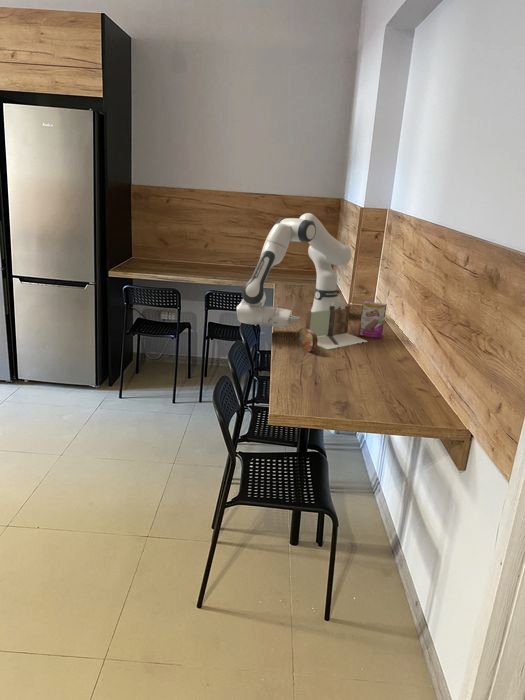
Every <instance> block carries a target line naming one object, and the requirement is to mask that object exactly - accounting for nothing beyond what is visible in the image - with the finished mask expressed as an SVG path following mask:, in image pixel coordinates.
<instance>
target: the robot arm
mask: <svg viewBox="0 0 525 700" xmlns="http://www.w3.org/2000/svg"><path fill="white" fill-rule="evenodd" d="M290 242H295V243H296V242H297V243H308V244H309V246H308V248H307V249H308V251H307V253H308V256H309V258H310V259H311V261H312V262H313V264H314V266H315V267H314V268H315V271H316V283H315V288H314V293H313V294H314V298H313V303H312V307H311V309H310V311H311V312H315V311H323V310H329V309H330V306H335V310H338V309H345V306H347V305H346V303H345V301H343V299H342V298H341V297H339V295H341V294H342V289H341V290H340V289H337V286H338V285H337V283H338V275H337V273H336V271H334V270H333V267H332V265H335V266H345V265H348V264H349V263H350V262H351V260H352V257H353V256H352V250H351V248H350V247H349V246H346V245H345V244H343V243H342V242H341V241H339V240H338V239H336V237H334V236H332V234H330V233H329V231H328V230H327V229H326V228H325V226H324V225H323V223H322V222H321V221H320V220H319V218H317V217H316V216H315V215H314V214H313V213H310V212H305V213H304V214H301V216H300V217H299V218H297V217H296V218H295V217H281V218H279V219H278V220H277V221H276V222H275V224H274V225H273V227H272V228H271V229H270V231H269V233H268V235H267V236H266V239H265V241H264V243H263V245H262V250H261V252H260V256H259V260H258V263H257V264H256V267H255V269H254V271H253V272H252V276H251V277H250V279H248V281H247V282H246V283H245V284H244V285H243V286H242V288H241V298H242V299H241V301H240V303H239V304H238V305H236V308H235V314H236V319H237V321H238V322H240V323H242V324H247V325H260V326H264V327H265V326H266V327H279V328H288V326H289V324H290V323H299V322H300V320H301V317H300V316H297V315H296V316H295V315H293V313H292V310H290V309H287V308H281V307H280V308H279V307H277V306H265V302H266V299H267V296H266V292H265V290H264V287H265V286H264V285H265V283H266V280H267V278H268V276H269V274H270V271H271V269H272V268H273V267H274V266H276V265H279V264H281V262H282V260H283V259H284V257H285V255H286V254H287V250H288V248H289V245H290Z"/></svg>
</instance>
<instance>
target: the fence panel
mask: <svg viewBox="0 0 525 700" xmlns="http://www.w3.org/2000/svg"><path fill="white" fill-rule="evenodd" d="M329 319H330V310H323V311H315V312H311V310H310V311H309V310H308V311H306V317H305V327H304V328H307V329H309V330H310V331H312V332H314V333H315V334H316V335H317V337H319V336H324V335H328V329H329Z"/></svg>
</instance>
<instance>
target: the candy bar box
mask: <svg viewBox="0 0 525 700" xmlns="http://www.w3.org/2000/svg"><path fill="white" fill-rule="evenodd" d="M387 305H388V304H387V303H382V302H381V303H380V302H374V301H367V300H363V303H362V307H361V314H360V322H359V328H358V336H359V335H361V337H366V336H368V338H373V337H374V339H382V338H383V332H384V325H385V319H386V313H387V312H386V311H387V308H388V307H387Z"/></svg>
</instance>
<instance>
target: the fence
mask: <svg viewBox="0 0 525 700" xmlns="http://www.w3.org/2000/svg"><path fill="white" fill-rule="evenodd" d="M329 310H330V319H329V329H328V336H332V335H336V334H342V333H347V334H348V330H349V329H348V328H349V321H350V311H351V306H350V305H346V306H345V309H338V310H335V306H330V309H329Z"/></svg>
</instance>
